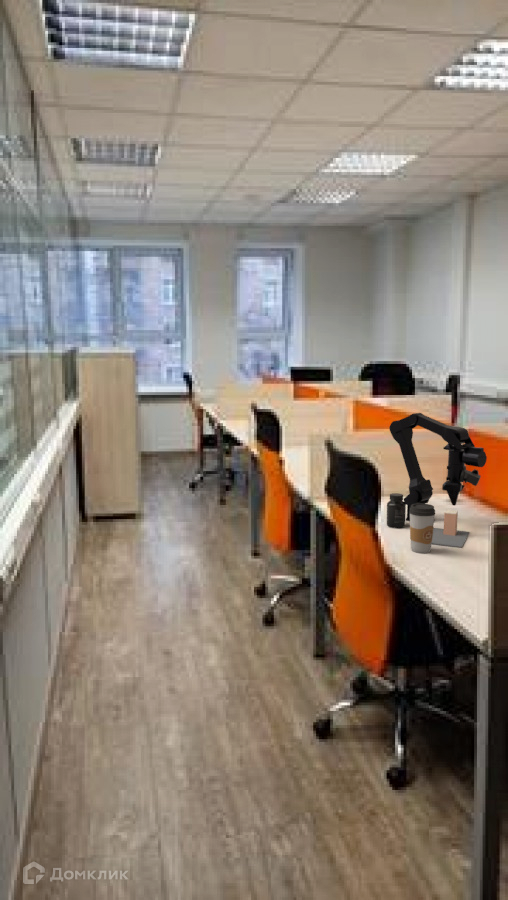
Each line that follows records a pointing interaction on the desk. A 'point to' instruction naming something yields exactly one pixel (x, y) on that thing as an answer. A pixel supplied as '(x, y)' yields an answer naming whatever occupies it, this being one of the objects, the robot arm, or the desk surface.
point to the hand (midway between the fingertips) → (454, 505)
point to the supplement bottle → (396, 511)
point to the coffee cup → (421, 527)
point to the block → (450, 522)
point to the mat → (449, 538)
